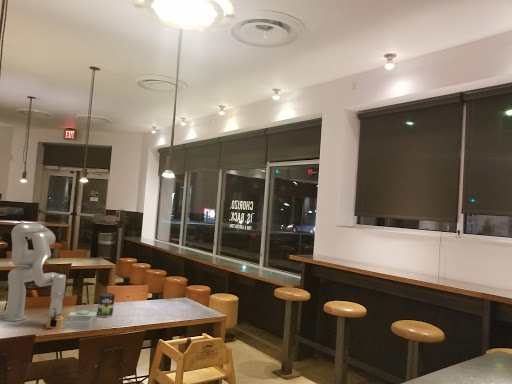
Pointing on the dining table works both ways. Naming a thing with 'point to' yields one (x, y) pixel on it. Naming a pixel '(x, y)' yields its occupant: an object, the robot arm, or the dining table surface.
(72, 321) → the clear square container
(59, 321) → the chute block
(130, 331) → the dining table surface
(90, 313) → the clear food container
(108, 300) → the coffee can
